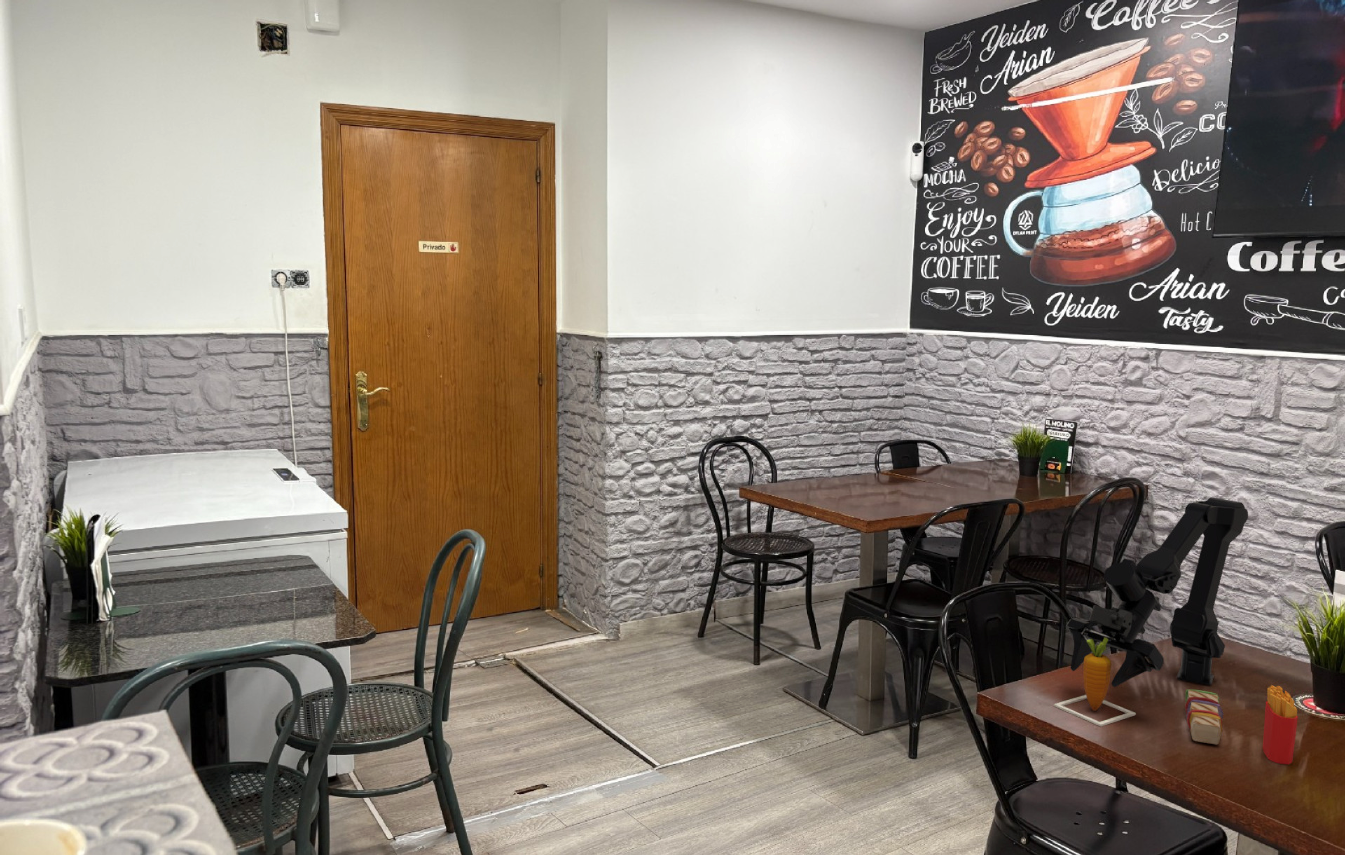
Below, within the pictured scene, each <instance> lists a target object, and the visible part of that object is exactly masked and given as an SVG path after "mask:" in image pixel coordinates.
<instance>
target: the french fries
mask: <svg viewBox="0 0 1345 855" xmlns="http://www.w3.org/2000/svg"><path fill="white" fill-rule="evenodd" d="M1266 693H1267V701H1265V709H1264V710H1265V711H1264V722H1263V724H1264V725H1263V738H1262V740H1263V741H1262V751H1263V753H1264V755H1265V757H1266V758H1267V759H1268V760H1269V761H1271V762H1273V763H1276V764H1281V765H1290V764H1292V763H1293V760H1294V759H1293V758H1294V752H1295V744H1296V736H1297V734H1296V733H1297V727H1298V720H1299V716H1298V709H1297V707H1296V706H1295V700H1294V699H1293V698H1292V696H1291V693H1289V692H1288V691H1286V690H1284V692H1283V687H1281V686H1280V685H1276V686H1274V685H1272V684H1270V686H1268V687H1267V692H1266Z"/></svg>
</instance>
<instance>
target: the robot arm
mask: <svg viewBox="0 0 1345 855" xmlns="http://www.w3.org/2000/svg"><path fill="white" fill-rule="evenodd" d="M1184 509H1185V510H1184V513H1183V514H1182V516H1181V518H1180V519H1179V520H1178V522H1177V523H1176V524H1175V526H1174V527H1173V529H1172V530H1171V531H1170V532H1169V533H1168V535H1167V537H1166V538H1165V539H1164V541H1163V542H1162V543H1161V545H1160V546H1159V548H1157V549H1156V550H1154V551H1151V552H1148V553H1147V554H1145V555H1144V556H1143V557H1142V558H1140V560H1139V561H1138V562H1137V563H1136V562H1135V561H1134V559H1129V558H1123V559H1122V561H1121V562H1117V563H1114V564H1112V565H1111V564H1110V566H1109V567H1107V568H1106V569H1105V571H1104V573H1103V579H1104V581H1105V582H1106V584H1107V585H1108V587H1109V589H1110V590H1111V592H1112V593H1113V594H1114V596H1115V597H1116V598H1117V599H1118V600H1119V601H1120V603H1119V604H1118V605H1117V607H1112V606H1111V608H1110V609H1109V608H1105V607H1102V606H1099V605H1095V604H1094V605H1093V607H1092V610H1091V613H1090V616H1089V618H1088V620H1089V621H1091V622H1095V623H1097V625H1096V627H1097V628H1098V629H1099V630H1101V632H1099V631H1098V630H1096V629H1095V628H1094V627H1093V625H1092V624H1091V623H1090V622H1089V621H1085V620H1083V619H1080V618H1077V617H1072V618H1071V619H1069V621H1068V622H1067V623H1066V626H1065V627H1066V629H1067V630H1068V632H1069V634H1070V636H1071V637H1072V638H1073V650H1072V652H1073V653H1072V658H1071V662H1070V667H1069V668H1070V669H1071V671H1072V672H1075V671H1076V670H1078V668H1079V667H1080V666H1081V665H1082V664H1084V658H1085V656H1087V655H1089V654H1091V653H1093V652H1092V650H1091V648H1090V646H1089V645H1088V643H1087V640H1090V639H1092V640H1093V641H1094V644H1095V645H1096V644H1097V643H1099V644H1100V643H1101V642H1103V640H1104V637H1106V638H1107V639H1108V642H1107V644H1106V646H1108V647H1112V648H1114V649H1117V650H1120V651H1122V652H1125V659H1124V661H1123V663H1122V664H1121V665H1120V667H1119V669H1118V670H1117V672H1116V674H1115V675H1114V677H1113V679H1112V681H1111V683H1110V684H1111V686H1112V687H1113V688H1117V687H1118V686H1120V685H1122V684H1124V683H1125V682H1127V681H1129V680H1130V679H1133V678H1134V677H1136V676H1139V675H1141V674H1144V673H1147V672H1148V673H1151V672H1153V671H1154V670H1155V671H1158V672H1159V671H1160V670H1161V669H1162V667H1163V666H1164V664H1165V663H1164V662H1165V660H1164V659H1165V658H1164V656H1163V655H1162V653H1161V652H1160V650H1159V649H1158V647H1157V646H1156V644H1155V643H1152V642H1149V641H1146V640H1143V639H1140V638H1137V637H1138V636H1139V634H1141V635H1144V634H1145V632H1146V628H1145V627H1144V626H1145V625H1146V623H1147V621H1148V619H1149V618H1150V616H1151V615H1152V613H1153V611H1156V612H1161V609H1162V608H1161V607H1162V605H1161V604H1160V598H1159V597H1158V596H1155V595H1154V593H1153V592H1155V593H1160V594H1164V595H1166V594H1168V595H1169V594H1170V593H1172V592H1173V590H1175V588H1177V586H1178V582H1179V581H1180V579H1181V577H1182V572H1181V566H1182V563H1183V562H1184V561H1185V559H1186V557H1187V556H1188V555H1189V554H1190V552H1191V551H1192V550H1193V548H1194V546H1195V545H1196V543H1197V542H1198V540H1200V538H1201V537H1202V535H1203V539H1202V540H1203V541H1202V543H1201V549H1200V551H1199V556H1198V560H1197V565H1196V567H1195V572H1194V576H1193V579H1192V583H1191V587H1190V591H1189V595H1188V599H1187V602H1186V603H1184V605H1182V606H1181V607H1178V606H1177V607H1176V608H1175V610H1173V616H1172V620H1171V622H1170V626H1169V627H1170V628H1169V632H1170V637H1171V638H1170V640H1171V644H1172V647H1175V648H1177V649H1178V648H1179V649H1181V660H1180V661H1181V662H1180V668H1179V670H1178V672H1177V675H1176V679H1177V680H1178V681H1180V680H1181V681H1185V682H1189V683H1194V684H1201V685H1206V686H1212V684H1213V680H1214V677H1215V676H1214V673H1212V666H1213V665H1212V662H1213V659H1220V658H1221V656H1223V655H1224V651H1225V648H1226V644H1225V643H1224V642H1223V640H1222V639H1221V637H1220V635H1219V634H1218V630H1219V622H1218V619H1217V616H1216V613H1215V610H1214V607H1215V603H1216V600H1217V595H1218V591H1219V587H1220V583H1221V579H1222V575H1223V571H1224V568H1225V567H1224V566H1225V564H1226V560H1227V556H1228V552H1229V548H1230V544H1231V543H1232V542H1233V541H1234V540H1235V539H1236V538H1238V537H1239V536H1240V535H1241V534H1242V532H1243V530H1244V527H1245V524H1246V523H1247V521H1248V519H1249V511H1248V509H1247V508H1245V505H1244V503H1242V502H1241V501H1236V500H1230V499H1225V498H1218V497H1213V496H1212V497H1209V498H1208V499H1206V500H1204V501H1203V500H1195V502H1194V501H1193V502H1188V503H1187V505H1186V506H1185V508H1184ZM1152 591H1153V592H1152Z"/></svg>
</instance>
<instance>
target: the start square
mask: <svg viewBox="0 0 1345 855" xmlns="http://www.w3.org/2000/svg"><path fill="white" fill-rule="evenodd" d="M1084 700H1088V699H1087V696H1086V694H1084V695H1080V696H1077V697H1073V698H1070V699H1068V700H1067V699H1066V700H1062V701H1060V702H1055V703H1054V704H1053V707H1055V708H1057V709H1060V710H1062V711H1064V712H1067V713H1069V714H1071V715H1073V716H1075V717H1078V718H1080V719H1082V720H1086V721H1087V722H1089V723H1091V724H1093V725H1096V726H1099V727H1104V726H1106V725H1109V724H1112V723H1116V722H1119V721H1121V720H1125V719H1129V718H1130V717H1133V716H1136V714H1137V713H1136V712H1134V711H1132V710H1129V709H1126V708H1125V707H1122V706H1119V705H1117V704H1114V703H1112V702H1110V701H1108V700H1105V699H1104V700H1103V702H1102V704H1103V705H1106V706H1108V707H1110V708H1113V709H1115V710H1117V711H1119V712H1120V711H1121V712H1123V713H1124V714H1121V715H1118V716H1114V717H1111V718H1108V719H1106V720H1102V721H1098V720H1096V719H1094V718H1091V717H1089V716H1087V715H1085V714H1082V713H1079V712H1077V711H1075V710H1072V709H1071V708H1068V707H1066V706H1067V705H1070V704H1074V703H1077V702H1080V701H1084Z"/></svg>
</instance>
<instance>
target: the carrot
mask: <svg viewBox="0 0 1345 855" xmlns="http://www.w3.org/2000/svg"><path fill="white" fill-rule="evenodd" d="M1107 642H1108V639H1107V638H1106V637H1104V640H1103V642H1101V643H1100V642H1099V643H1098V644H1097V645H1096V644H1094V641H1093V640H1092V639H1090V640H1087V643H1088V645H1089V646H1090V648H1091V650H1092V652H1091V653H1090V654H1089V655H1087V656H1085V658H1084V661H1083V685H1084V691H1085V695H1086V696H1087V699H1086V700H1087V702H1088V703H1089V704H1088V705H1089V706H1090V709H1092V710H1093V711H1094V712H1095V711H1098V709H1099V708H1100V706H1102V704H1103V703H1102V702H1103V700H1105V699H1106V696H1107V692H1108V689H1109V684H1110V681H1111V672H1112V660H1111V659H1110V658H1109V657H1108V656H1107V655H1104V654H1103V653H1104V652H1105V651H1106V649H1107V648H1108V647H1107V645H1106V644H1107Z"/></svg>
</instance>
